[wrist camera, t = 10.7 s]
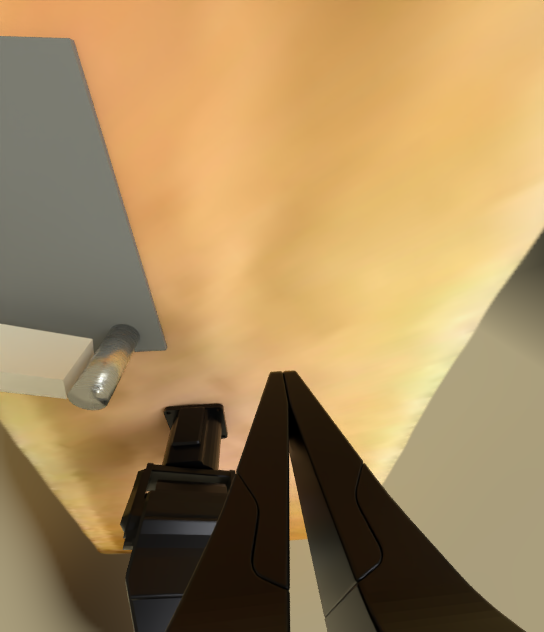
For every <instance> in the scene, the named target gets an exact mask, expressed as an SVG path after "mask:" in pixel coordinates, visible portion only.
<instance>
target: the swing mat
mask: <svg viewBox="0 0 544 632" xmlns="http://www.w3.org/2000/svg"><path fill="white" fill-rule="evenodd" d="M0 324H5V325H11V326H17V327H23V328H29V329H35V330H41V331H48V332H54V333H60V334H66V335H72V336H78V337H84V338H90V339H93V350H94V354H95V352H96V351H97V349H98V348H99V346H100V345H101V343H102V342H103V340H104V339H105V337H106V336H107V334H108V333H109V331H110V330H111V328H112V327H113V326H115V325H117V324H126V325H130V326H132V327H134V328H135V329H136V330H137V331H138V332H139V334H140V340H139V342H138V344H137V346H136V348H135V350H134V352H140V351H161V350H166V349H167V345H166V341H165V338H164V335H163V332H162V328H161V325H160V322H159V319H158V315H157V312H156V309H155V305H154V302H153V299H152V296H151V292H150V289H149V286H148V282H147V279H146V276H145V273H144V269H143V266H142V263H141V259H140V256H139V253H138V250H137V246H136V243H135V240H134V236H133V233H132V230H131V227H130V223H129V220H128V217H127V213H126V210H125V207H124V204H123V200H122V197H121V194H120V190H119V187H118V184H117V181H116V177H115V174H114V171H113V167H112V164H111V161H110V158H109V154H108V151H107V148H106V145H105V141H104V138H103V135H102V131H101V128H100V125H99V122H98V118H97V115H96V112H95V108H94V105H93V102H92V99H91V95H90V92H89V89H88V85H87V82H86V79H85V76H84V72H83V69H82V66H81V62H80V59H79V56H78V53H77V49H76V46H75V43H74V40H72V39H70V38H42V37H11V36H0Z"/></svg>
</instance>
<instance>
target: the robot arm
mask: <svg viewBox="0 0 544 632" xmlns="http://www.w3.org/2000/svg"><path fill="white" fill-rule="evenodd" d="M164 415H165V417H166V420H167V422H168V425H169V427H170V430H171V431H170V435H169V439H168V443H167V447H166V451H165V455H164V459H163V463H162V465H154V463H148V464H147V467H146V469H144V470H141V471H138V474H137V477H136V480H135V483H134V486H133V490H132V492H131V495H130V498H129V500H128V503H127V506H126V509H125V511H124V514H123V517H122V520H121V523H120V525H121V527H122V529H123V531H124V537H123V538H125V542H124V546H123V550H132V553H131V557H130V561H129V565H128V568H127V572H126V588H127V594H128V599H129V605H130V610H131V616H132V621H133V627H134V632H290V593H289V588H290V565H289V564H290V562H289V561H290V560H289V559H290V557H289V554H290V551H289V453H290V458H291V462H292V467H293V472H294V476H295V481H296V486H297V491H298V495H299V500H300V505H301V509H302V514H303V519H304V523H305V528H306V533H307V538H308V542H309V547H310V552H311V556H312V561H313V566H314V570H315V575H316V579H317V584H318V589H319V593H320V599H321V603H322V608H323V613H324V616H325V622H326V627H327V632H526V631H524V630H523V629H522V628H520V627H519V626H518V625H516V624H515V623H514V622H512V621H511V620H510V619H508V618H507V617H506V616H504V615H503V614H502V613H501V612H499V611H498V610H497V609H496V608H494V607H493V606H492V605H491V604H490V603H489V602H487V601H486V600H485V599H484V598H483V597H482V596H481V595H480V594H479V593H478V592H476V591H475V590H474V589H473V588H472V587H471V586H470V585H469V584H468V583H467V582H466V581H465V580H464V578H463V577H461V575H460V574H459V573H458V572H457V571H456V570H455V569H454V567H453V566H452V565H451V564H450V563H449V562H448V561H447V560H446V559H445V558H444V556H443V555H442V554H441V553H440V552H439V551H438V550H437V548H436V547H435V546H434V545H433V544H432V543H431V542H430V541H429V540H428V539H427V537H425V535H424V534H423V533H422V532H421V531H420V530H419V528H418V527H417V526H416V525H415V524H414V523H413V522H412V521H411V520H410V518H409V517H408V516H407V515H406V514H405V513H404V512H403V510H402V509H401V508H400V507H399V506H398V505H397V503H396V502H395V501H394V500H393V499H392V498H391V497H390V495H389V494H388V493H387V491H386V490H385V489H384V488H383V486H382V485H381V484H380V483H379V481H378V480H377V479H376V477H375V476H374V475H373V473H372V472H371V471H370V469H369V468H368V467H367V465H366V464H365V463H364V464H363V460H362V459H361V458H360V456H359V455H358V454H357V452H356V451H355V450H354V448H353V447H352V446H351V444H350V443H349V442H348V440H347V439H346V438H345V436H344V435H343V434H342V432H341V431H340V429H339V428H338V427H337V425H336V424H335V423H334V421H333V420H332V419H331V417H330V416H329V415H328V413H327V412H326V411H325V409H324V408H323V407H322V405H321V404H320V403H319V401H318V400H317V399H316V397H315V396H314V395H313V393H312V392H311V391H310V389H309V388H308V387H307V385H306V384H305V383H304V381H303V380H302V379H301V377H300V376H299V375H298V373H297V372H296V371H284V372H281V371H277V372H270V374H269V377H268V380H267V383H266V386H265V389H264V391H263V394H262V397H261V400H260V403H259V406H258V409H257V412H256V415H255V418H254V421H253V424H252V426H251V429H250V432H249V435H248V438H247V441H246V444H245V447H244V450H243V453H242V456H241V459H240V462H239V464H238V467H237V470H236V474H235V470H230V471H224V470H218V468H219V456H220V444H221V439H223V438H227V434H228V433H227V427H226V421H225V414H224V408H223V405H221V404H214V405H197V406H181V407H167V408H165V410H164ZM147 491H149V492H148V493H147Z"/></svg>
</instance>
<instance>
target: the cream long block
mask: <svg viewBox="0 0 544 632" xmlns="http://www.w3.org/2000/svg"><path fill="white" fill-rule="evenodd" d="M93 355H94V350H93V339H90V338H84V337H78V336H72V335H66V334H60V333H54V332H48V331H41V330H35V329H29V328H23V327H17V326H11V325H5V324H0V391H1V392H10V393H19V394H27V395H36V396H45V397H54V398H63V399H67V398H68V393H69V391H70V390H71V388H72V387H73V385H74V384H75V382H76V381H77V379H78V378H79V376H80V375H81V373H82V372H83V370H84V369H85V367H86V366H87V364H88V363H89V361H90V360H91V358H92V357H93Z"/></svg>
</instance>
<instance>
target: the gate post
mask: <svg viewBox="0 0 544 632" xmlns="http://www.w3.org/2000/svg"><path fill="white" fill-rule="evenodd" d="M139 340H140V334H139V332H138V331H137V330H136V329H135V328H134V327H132V326H130V325H126V324H117V325H115V326H113V327H112V328H111V330H110V331H109V333H108V334H107V336H106V337H105V339H104V340H103V342H102V343H101V345H100V346H99V348H98V349H97V351H96V352H95V354H94V355H93V357H92V358H91V360H90V361H89V363H88V364H87V366H86V367H85V369H84V370H83V372H82V373H81V375H80V376H79V378H78V379H77V381H76V382H75V384H74V385H73V387H72V388H71V390H70V391H69V393H68V399H69V401H70V402H71V403H72V404H74V405H75V406H77V407H80V408H83V409H87V410H99V409H103V408H105V407H106V406H107V404H108V402H109V400H110V398H111V396H112V394H113V392H114V390H115V388H116V386H117V384H118V382H119V380H120V378H121V376H122V374H123V372H124V370H125V368H126V366H127V364H128V362H129V360H130V358H131V356H132V354H133V352H134V350H135V348H136V346H137V344H138V342H139Z"/></svg>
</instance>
